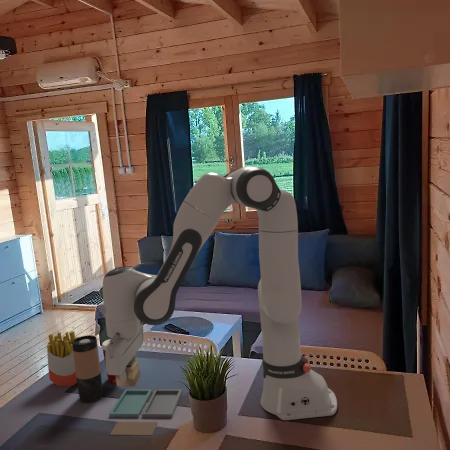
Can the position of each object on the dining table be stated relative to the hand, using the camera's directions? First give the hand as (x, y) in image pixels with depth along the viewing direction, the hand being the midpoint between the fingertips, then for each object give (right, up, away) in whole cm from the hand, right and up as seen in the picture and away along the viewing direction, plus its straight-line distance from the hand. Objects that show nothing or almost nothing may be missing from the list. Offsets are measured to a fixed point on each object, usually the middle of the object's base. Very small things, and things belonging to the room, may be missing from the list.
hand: (128, 374), depth 122 cm
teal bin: (-2, -15, +15) cm, 21 cm away
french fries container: (-28, -14, +33) cm, 46 cm away
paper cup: (-11, -13, +33) cm, 37 cm away
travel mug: (-16, -15, +21) cm, 31 cm away
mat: (+1, -17, +2) cm, 17 cm away
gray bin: (+8, -14, +14) cm, 21 cm away
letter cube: (0, -2, 0) cm, 2 cm away
